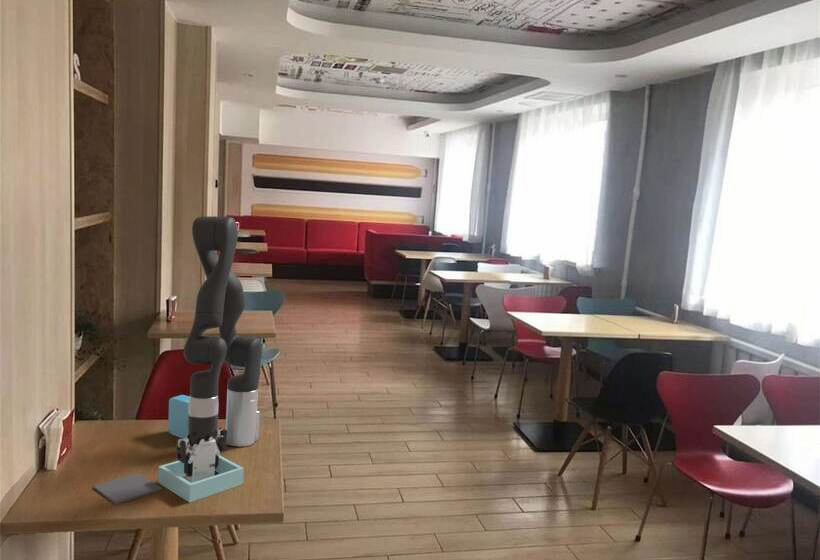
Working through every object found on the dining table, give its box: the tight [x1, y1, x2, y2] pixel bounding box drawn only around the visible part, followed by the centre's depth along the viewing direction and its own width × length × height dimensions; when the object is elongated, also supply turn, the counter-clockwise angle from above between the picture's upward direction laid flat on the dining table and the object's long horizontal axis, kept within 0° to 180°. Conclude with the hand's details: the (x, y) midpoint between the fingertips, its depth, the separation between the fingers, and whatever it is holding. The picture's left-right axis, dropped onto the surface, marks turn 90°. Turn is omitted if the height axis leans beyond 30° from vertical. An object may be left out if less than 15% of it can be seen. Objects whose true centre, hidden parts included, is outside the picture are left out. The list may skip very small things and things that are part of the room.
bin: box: [157, 454, 245, 503], centre depth 175 cm, size 16×15×4 cm
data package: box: [167, 394, 190, 439], centre depth 206 cm, size 12×4×12 cm, turn 61°
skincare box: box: [187, 439, 217, 483], centre depth 175 cm, size 6×4×12 cm
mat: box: [92, 472, 163, 505], centre depth 169 cm, size 12×12×1 cm
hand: (201, 471), depth 175 cm, fingers closed on skincare box, 7 cm apart
